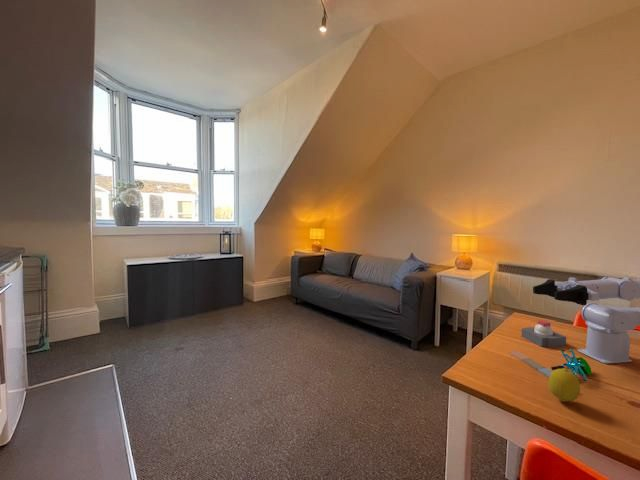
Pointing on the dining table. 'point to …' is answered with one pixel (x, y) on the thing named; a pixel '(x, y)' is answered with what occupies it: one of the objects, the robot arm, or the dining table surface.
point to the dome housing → (543, 338)
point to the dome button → (543, 328)
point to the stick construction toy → (575, 365)
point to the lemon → (564, 385)
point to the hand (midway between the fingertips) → (544, 292)
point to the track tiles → (531, 363)
